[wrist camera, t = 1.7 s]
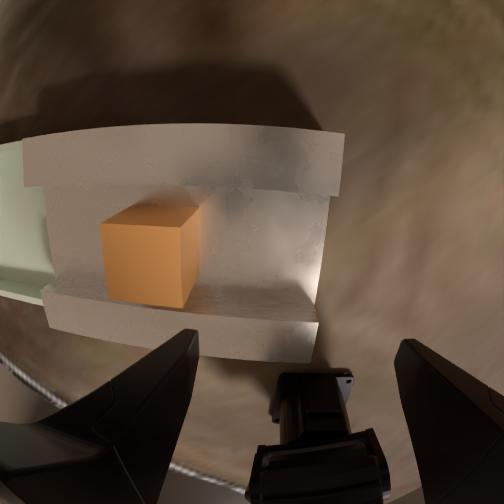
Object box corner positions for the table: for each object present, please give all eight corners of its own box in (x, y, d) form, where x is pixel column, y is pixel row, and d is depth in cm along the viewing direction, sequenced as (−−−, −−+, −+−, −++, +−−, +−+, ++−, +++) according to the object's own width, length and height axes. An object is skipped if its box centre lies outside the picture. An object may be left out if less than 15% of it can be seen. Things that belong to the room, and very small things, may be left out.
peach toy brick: (199, 274, 18) (182, 308, 15) (137, 268, 18) (109, 299, 15) (199, 207, 17) (180, 227, 13) (133, 204, 17) (100, 223, 13)
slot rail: (303, 319, 23) (310, 363, 18) (81, 296, 23) (49, 327, 18) (325, 135, 18) (344, 133, 13) (66, 134, 18) (22, 138, 14)
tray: (76, 295, 23) (61, 309, 21) (-3, 279, 23) (-18, 290, 21) (61, 135, 18) (41, 137, 16) (-20, 150, 19) (-39, 154, 16)
